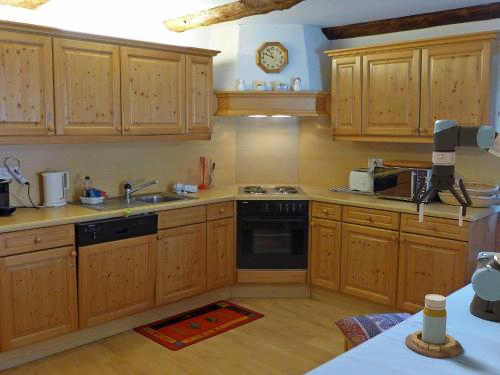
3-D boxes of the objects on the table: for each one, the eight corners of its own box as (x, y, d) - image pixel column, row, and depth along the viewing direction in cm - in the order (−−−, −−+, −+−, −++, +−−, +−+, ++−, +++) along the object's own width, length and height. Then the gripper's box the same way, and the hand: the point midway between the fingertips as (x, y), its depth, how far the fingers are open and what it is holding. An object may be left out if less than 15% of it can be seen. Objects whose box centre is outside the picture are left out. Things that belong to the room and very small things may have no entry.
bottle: (446, 348, 164) (449, 301, 162) (423, 346, 165) (425, 300, 163) (443, 339, 170) (445, 294, 168) (420, 337, 172) (422, 293, 170)
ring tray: (441, 332, 178) (441, 325, 178) (473, 354, 162) (473, 347, 161) (395, 337, 174) (395, 330, 174) (423, 360, 158) (424, 352, 157)
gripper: (404, 163, 188) (402, 221, 191) (480, 166, 175) (476, 229, 178) (410, 161, 195) (408, 218, 198) (483, 165, 182) (479, 225, 185)
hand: (440, 223), depth 188 cm, fingers open, 13 cm apart
